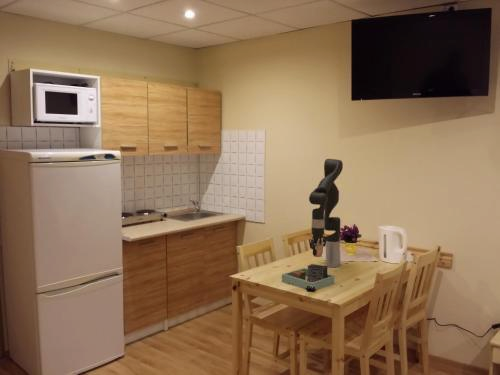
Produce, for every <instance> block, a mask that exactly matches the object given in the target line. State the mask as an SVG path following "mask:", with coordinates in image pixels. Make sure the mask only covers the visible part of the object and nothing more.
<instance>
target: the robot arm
mask: <svg viewBox="0 0 500 375" xmlns="http://www.w3.org/2000/svg"><path fill="white" fill-rule="evenodd" d="M343 167H344V164H343V161H342V160H341V159H335V158H326V159H325V160H324V164H323V170H324V171H323V174H324V177H323V178H322V179H321V180H320V181H319V182H318V185H317V187H316V188H315V189H313V190H312V192H311V193H310V194H309V197H308V201H309V203H310V204H311V205H315V206H317V205H319V207H317V208H313V209H311V210H312V211H311V235H312V238H309V239H308V245H309V248H310V249H312V255H313V257H314V256H316V255H317V250H316V249H317V246H318V244H319V243H321V244H322V254H324V253H323V251H324V250H323V249H324V247H325V266H328V267H329V268H338V267H340V266H341V244H340V243H341V218H340V217H338V216H334V217H333V216H330V215H331V213H332V211H333V210H334V209H335V207H336V206H337V205H338V203H339V201H340V191H339V189H338V187H337V185H336V183H335V181H336V180H337V179H338V177H339V176H340V175H341V173H342V172H343V169H344V168H343ZM325 231H328V232H329V231H332V232H333V233H332V234H328V235H326V236H325ZM315 243H316V244H315ZM314 245H315V247H314ZM328 267H327V268H328Z"/></svg>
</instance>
